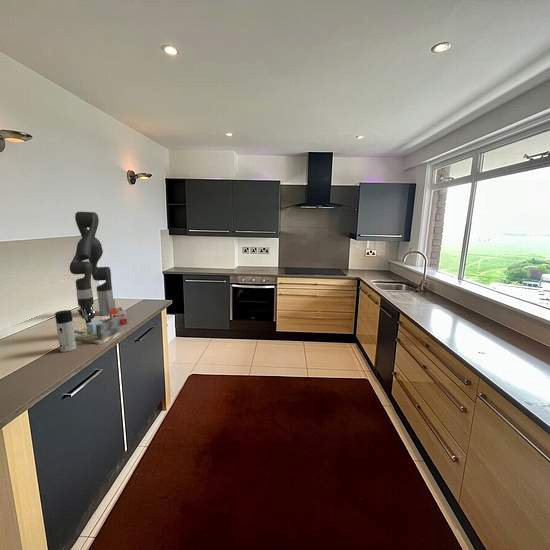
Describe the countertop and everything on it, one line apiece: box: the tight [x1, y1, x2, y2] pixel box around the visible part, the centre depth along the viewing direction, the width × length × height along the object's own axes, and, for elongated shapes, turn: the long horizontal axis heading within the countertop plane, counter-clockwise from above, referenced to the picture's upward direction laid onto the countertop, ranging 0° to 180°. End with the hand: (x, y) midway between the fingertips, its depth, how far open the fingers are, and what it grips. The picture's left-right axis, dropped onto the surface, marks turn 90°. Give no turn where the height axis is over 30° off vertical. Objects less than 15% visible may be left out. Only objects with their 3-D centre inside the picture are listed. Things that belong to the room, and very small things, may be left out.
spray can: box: [54, 309, 77, 353], centre depth 146 cm, size 7×7×20 cm
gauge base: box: [74, 318, 125, 345], centre depth 165 cm, size 16×26×10 cm, turn 68°
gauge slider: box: [82, 319, 103, 335], centre depth 162 cm, size 10×6×6 cm, turn 158°
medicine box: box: [109, 306, 128, 326], centre depth 186 cm, size 15×8×8 cm, turn 36°
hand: (88, 325), depth 166 cm, fingers closed
